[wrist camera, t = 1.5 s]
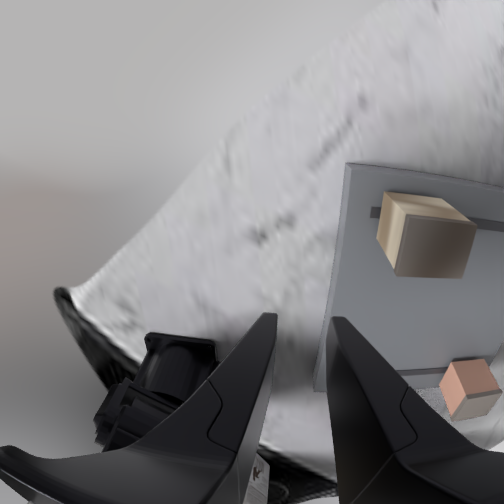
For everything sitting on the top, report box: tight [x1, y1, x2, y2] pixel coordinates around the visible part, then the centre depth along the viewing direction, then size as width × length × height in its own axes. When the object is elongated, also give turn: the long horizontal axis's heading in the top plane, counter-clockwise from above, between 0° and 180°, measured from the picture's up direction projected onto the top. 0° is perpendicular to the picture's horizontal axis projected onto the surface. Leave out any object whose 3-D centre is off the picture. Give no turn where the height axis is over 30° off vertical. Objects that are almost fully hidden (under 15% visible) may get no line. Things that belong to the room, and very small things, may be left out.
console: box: [313, 163, 504, 392], centre depth 22 cm, size 18×19×2 cm
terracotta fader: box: [439, 359, 502, 422], centre depth 22 cm, size 4×3×4 cm
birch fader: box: [376, 191, 478, 279], centre depth 16 cm, size 4×3×4 cm
